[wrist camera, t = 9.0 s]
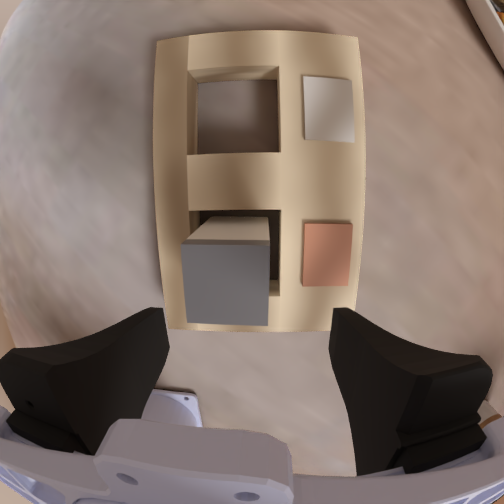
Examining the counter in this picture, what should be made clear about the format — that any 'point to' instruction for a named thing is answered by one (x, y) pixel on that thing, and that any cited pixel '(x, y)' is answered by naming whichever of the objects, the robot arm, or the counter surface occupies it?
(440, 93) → the counter surface
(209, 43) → the socket block
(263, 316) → the plug
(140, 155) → the counter surface
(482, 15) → the bowl
